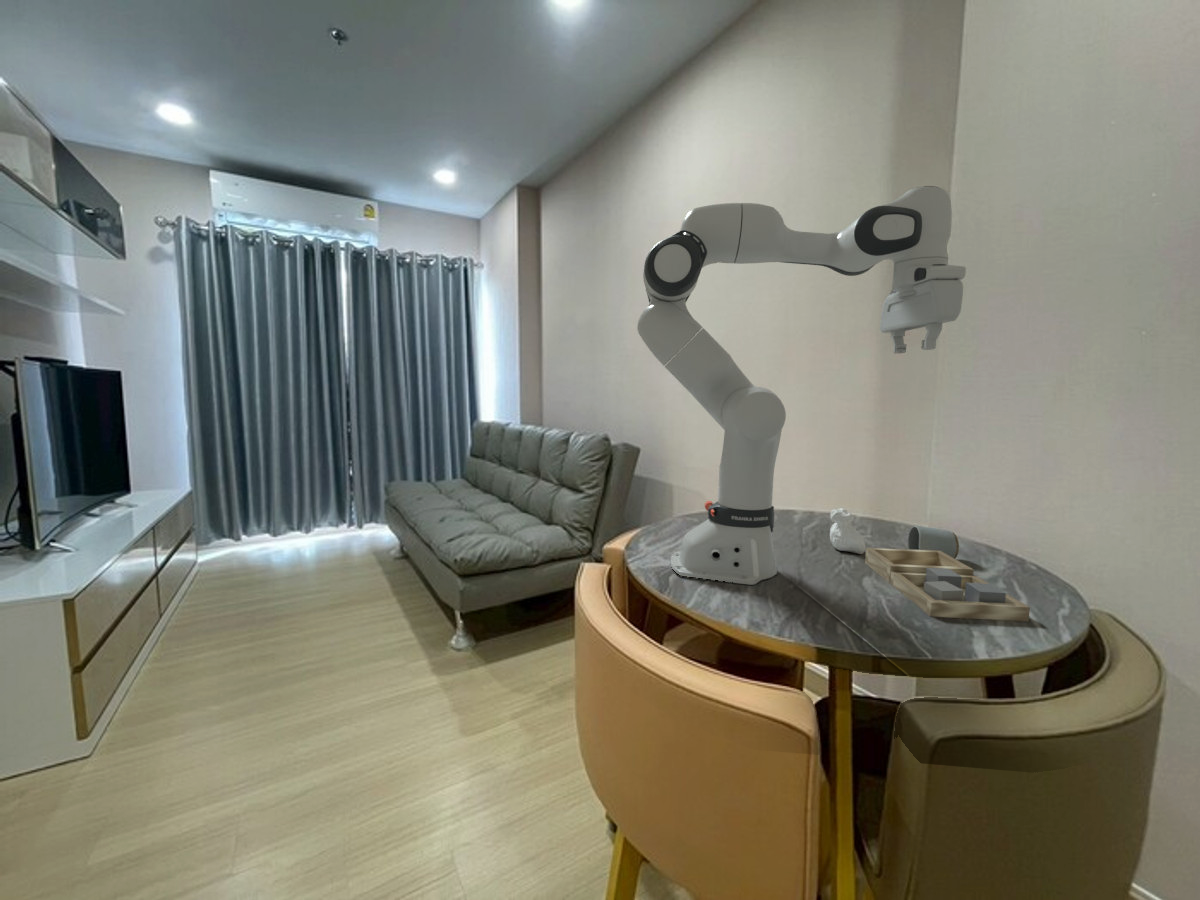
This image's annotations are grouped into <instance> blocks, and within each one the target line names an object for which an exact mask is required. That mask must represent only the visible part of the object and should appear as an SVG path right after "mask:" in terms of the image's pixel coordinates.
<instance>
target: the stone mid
mask: <svg viewBox="0 0 1200 900" xmlns="http://www.w3.org/2000/svg"><path fill="white" fill-rule="evenodd" d="M961 580H962V576H960V575H958V574H957V573H955V572H953V571H952V570H950V569H942V568H926V579H925V582H936V581H946V582H948V583H950V584H952V585H954V586H956V587H958V588H960V589H961Z"/></svg>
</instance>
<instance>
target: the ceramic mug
mask: <svg viewBox="0 0 1200 900" xmlns="http://www.w3.org/2000/svg"><path fill="white" fill-rule="evenodd" d="M908 532H909V533H908V537H907V549H909V550H936V551H942V552H943V553H945V554H947V555H949V556H951V557H952V558H954V559H956V558H957V557H958V555H959V551H960V550H959V549H960V545H959V543H960V542H959V538H958V536H957V535H956V533H954V532H953V531H951V530H948V529H943V528H933V527H927V526H921V525H913V526H912V527H911V528H910V530H909V531H908ZM956 560H957V559H956Z"/></svg>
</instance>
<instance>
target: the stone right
mask: <svg viewBox="0 0 1200 900" xmlns="http://www.w3.org/2000/svg"><path fill="white" fill-rule="evenodd" d="M1006 594H1007V593H1006V592H1005V591H1004V590H1002V589H999V587H997V586H995V585H993V584H992V583H989V584H984V583H966V586H965V596H964V601H968V602H989V603H1005V598H1006Z"/></svg>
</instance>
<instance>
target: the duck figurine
mask: <svg viewBox="0 0 1200 900" xmlns="http://www.w3.org/2000/svg"><path fill="white" fill-rule="evenodd" d="M830 520H831V521H832V523H833V524H832V525H831V527H830V529H829V531H830V532H829V539H830V540H829V541H830V542H831V545H832V546H833V547H834V548H835V549H836V550H839V551H841V552H848V553H849V552H850V553H854V554H857V555H863V554H864V553H865V552H866V541H865V539H864V537H863V535H862V534H861V533H860V532H859V531H857V529H856V528H855V527H854V526H853V525H852V521H854V520H855V515H853V514H852V513H851V512H850V513H849V512H848V510H847V509H845V508H843V507H840V508H835V509H832V510H831V511H830Z"/></svg>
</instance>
